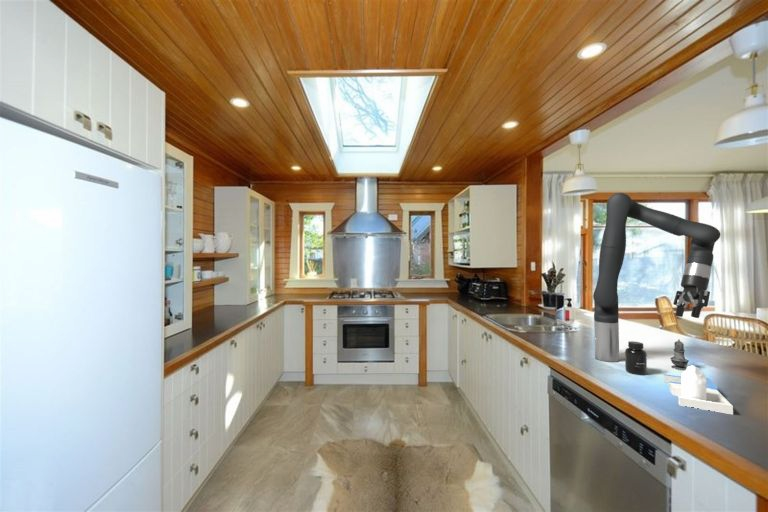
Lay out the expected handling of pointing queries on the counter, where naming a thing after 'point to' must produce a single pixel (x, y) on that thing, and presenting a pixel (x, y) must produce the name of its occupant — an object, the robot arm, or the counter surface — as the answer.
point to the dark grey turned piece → (679, 356)
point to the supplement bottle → (635, 358)
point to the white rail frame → (711, 395)
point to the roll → (693, 383)
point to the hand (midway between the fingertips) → (686, 316)
